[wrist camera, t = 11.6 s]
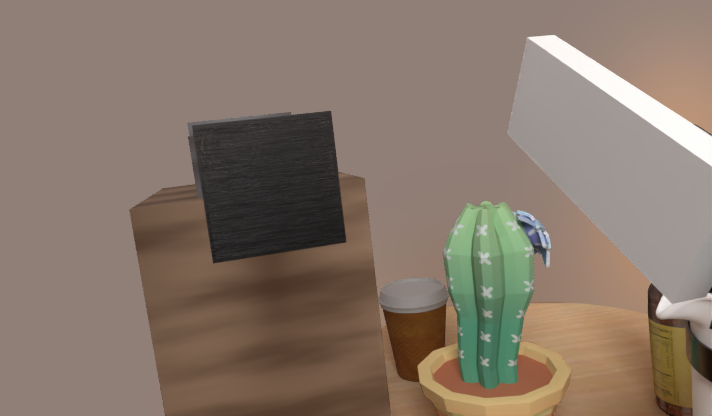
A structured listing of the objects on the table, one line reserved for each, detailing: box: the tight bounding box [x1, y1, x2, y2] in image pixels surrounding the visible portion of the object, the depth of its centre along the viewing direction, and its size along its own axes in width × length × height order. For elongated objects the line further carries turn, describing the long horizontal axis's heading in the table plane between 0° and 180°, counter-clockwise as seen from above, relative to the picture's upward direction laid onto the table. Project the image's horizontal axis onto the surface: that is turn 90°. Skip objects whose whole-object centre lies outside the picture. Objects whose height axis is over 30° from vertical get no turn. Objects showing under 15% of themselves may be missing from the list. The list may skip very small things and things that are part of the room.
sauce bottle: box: [648, 283, 693, 416], centre depth 57 cm, size 6×6×20 cm
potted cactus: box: [418, 201, 572, 416], centre depth 55 cm, size 15×15×25 cm
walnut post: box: [130, 112, 391, 416], centre depth 48 cm, size 18×16×35 cm
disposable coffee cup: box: [378, 278, 449, 381], centre depth 74 cm, size 10×10×12 cm
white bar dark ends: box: [192, 111, 346, 263], centre depth 27 cm, size 26×4×4 cm, turn 13°
